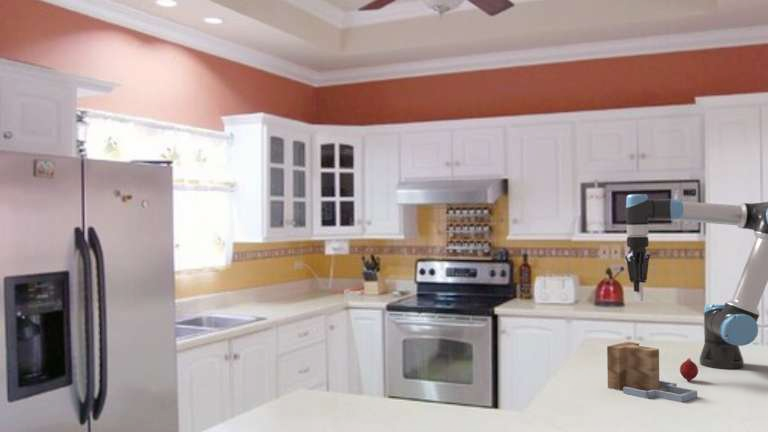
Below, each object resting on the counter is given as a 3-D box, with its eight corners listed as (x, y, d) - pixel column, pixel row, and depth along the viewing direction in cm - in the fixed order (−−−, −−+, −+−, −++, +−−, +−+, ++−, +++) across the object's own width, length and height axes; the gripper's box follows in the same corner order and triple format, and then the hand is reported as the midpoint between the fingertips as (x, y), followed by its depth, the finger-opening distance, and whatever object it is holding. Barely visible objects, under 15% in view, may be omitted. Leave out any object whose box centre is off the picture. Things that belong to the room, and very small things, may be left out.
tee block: (665, 389, 235) (665, 347, 235) (645, 395, 228) (645, 352, 227) (627, 381, 246) (627, 341, 246) (607, 387, 238) (607, 346, 238)
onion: (699, 383, 242) (699, 360, 242) (682, 382, 243) (681, 359, 243) (696, 379, 248) (695, 356, 248) (678, 378, 249) (678, 356, 249)
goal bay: (703, 394, 228) (703, 388, 228) (675, 404, 217) (675, 398, 217) (651, 384, 242) (651, 378, 242) (623, 393, 231) (623, 387, 231)
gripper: (638, 235, 267) (639, 297, 267) (618, 236, 259) (619, 301, 259) (656, 235, 261) (657, 299, 261) (636, 237, 253) (637, 303, 253)
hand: (638, 300), depth 260 cm, fingers closed
